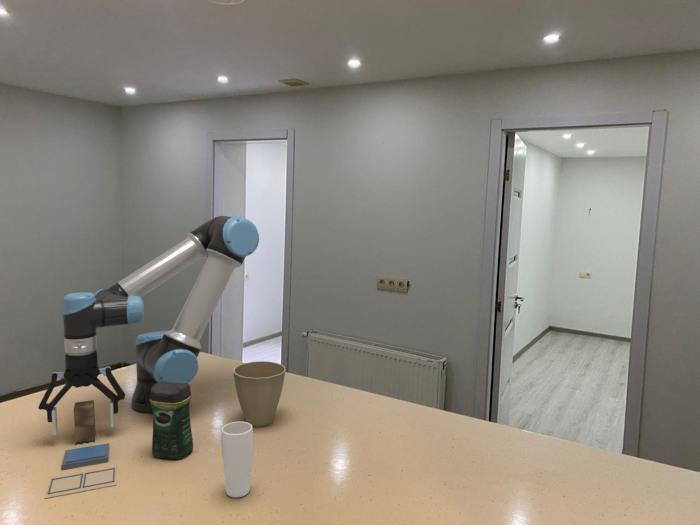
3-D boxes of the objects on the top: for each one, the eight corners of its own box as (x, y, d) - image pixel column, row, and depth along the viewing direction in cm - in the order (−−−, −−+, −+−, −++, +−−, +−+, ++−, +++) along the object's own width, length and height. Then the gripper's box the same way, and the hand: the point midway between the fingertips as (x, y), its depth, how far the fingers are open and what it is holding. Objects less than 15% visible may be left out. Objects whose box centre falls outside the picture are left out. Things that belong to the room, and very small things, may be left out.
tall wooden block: (95, 435, 139) (94, 400, 138) (94, 442, 135) (92, 406, 134) (77, 437, 137) (75, 402, 136) (75, 445, 133) (73, 408, 132)
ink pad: (109, 447, 132) (109, 442, 132) (108, 462, 125) (108, 456, 125) (65, 454, 128) (65, 449, 128) (62, 470, 121) (61, 464, 121)
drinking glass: (225, 484, 116) (223, 421, 114) (255, 483, 116) (254, 420, 115) (220, 501, 109) (218, 435, 107) (251, 500, 110) (251, 434, 108)
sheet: (117, 466, 123) (116, 464, 123) (116, 485, 115) (116, 483, 115) (50, 478, 117) (50, 476, 117) (44, 499, 109) (44, 497, 109)
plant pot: (240, 436, 139) (239, 380, 137) (229, 415, 153) (228, 364, 151) (292, 427, 145) (292, 373, 143) (277, 408, 159) (277, 358, 157)
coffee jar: (198, 447, 133) (196, 379, 130) (181, 462, 125) (179, 390, 123) (165, 443, 135) (163, 375, 133) (146, 457, 127) (144, 386, 125)
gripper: (22, 360, 125) (27, 442, 127) (132, 351, 135) (135, 427, 137) (28, 352, 132) (32, 430, 134) (132, 343, 142) (134, 416, 144)
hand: (84, 429), depth 136 cm, fingers open, 13 cm apart
